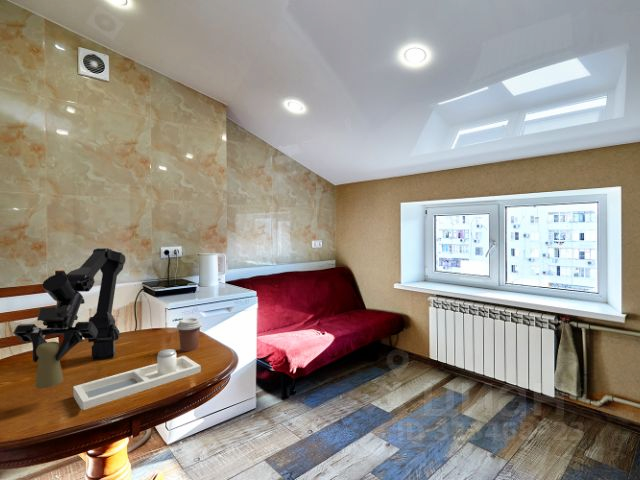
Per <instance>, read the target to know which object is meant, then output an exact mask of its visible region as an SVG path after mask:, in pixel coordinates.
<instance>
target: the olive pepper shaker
mask: <svg viewBox="0 0 640 480" xmlns="http://www.w3.org/2000/svg"><path fill="white" fill-rule="evenodd" d="M60 346H61V344H60V342H58V341H47V342H46V343H43V344H40V345H39V346H38V347H37V349H36V354H37V356H38V357H39V359H38V361H37V369H36V370H37V371H36V378H35V388H36V389H45V388H46V389H47V388H51V387H54V386H57V385H59V384H61V383H63V381H64V375H63V371H62V365H61V359H60V360H59V361H57V360H56V357H57V354H58V351H59V349H60Z"/></svg>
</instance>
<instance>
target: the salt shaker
mask: <svg viewBox="0 0 640 480" xmlns="http://www.w3.org/2000/svg"><path fill="white" fill-rule="evenodd" d="M176 358H177V352H176V349H172V348H168V349H167V348H166V349H163V350H160V351H158V353H157V356H156V359H157V376H158V377H159V376H163V375H166V374H169V373H172V372H176V371H177V359H176Z"/></svg>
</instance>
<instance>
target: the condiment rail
mask: <svg viewBox="0 0 640 480" xmlns="http://www.w3.org/2000/svg"><path fill="white" fill-rule="evenodd" d="M176 359H177V371H176V372H172V373H169V374H166V375H163V376H159V377H158V376H157V363H153V364H150V365H147V366H143V367H142V366H141V367H139V368H134V369H132V370H128V371H125V372H120V373H116V374H114V375H111V376H106V377H103V378H99V379H95V380H92V381H88V382H84V383H81V384H78V385H74V386H73V390H72V391H73V399H74V400H75V402H76V403H77V405H78V407H79V409H81V411H84V410H87V409H91V408H94V407H97V406H99V405H103V404H107V403H109V402H112V401H115V400H118V399H121V398H126V397H128V396H131V395H135V394H137V393H140V392H144V391H146V390H149V389H153V388H155V387H159V386H161V385H166V384H168V383H171V382H175V381H176V380H181V379H183V378H187V377H189V376H192V375H197V374H199V373H202V366H201V364H198V363H197V362H195V361H194V360H192V359H191V358H189V357H188V356H186V355H181V356H179V357H176Z"/></svg>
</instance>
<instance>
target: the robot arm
mask: <svg viewBox="0 0 640 480" xmlns="http://www.w3.org/2000/svg"><path fill="white" fill-rule="evenodd" d="M125 263H126V256H125V254H123V252H120V251H116V250H113V249H111V248H108V247H107V248H106V247H105V248H103V247H99V248H95V249H93V251H92V254H91V255H90V256H89V257H88V258H86V260H85V261H84V262H83V264H81V266H80V267H79V268H76V269H73V270H71V271H69V272H68V273H66V272H65V271H56V273H55V274H53V275H51V276H48V277H47V278H46V279H45V280H43V282H42V288H43V289H44V290H45V292H46V293H47V294H48V295H49V296H50V297H51V298H52V299H53V300H54V301H55V302H56V304H55V307H40V308H39V311H38V315H37V318H36V320H37V321H38V322H39V321H42V325H43V326H46V328H45V327H44V328H42V327H39V326H37V325H36V323H26V324H25V323H24V324H19V325H17V326H16V327H15V328H14V330H13V333H12V334H14V336H15V337H16V338H18V339H19V340H20V341H21V342H23V343H31V344H32V362H33V363H38V362H39V357H38V356H37V354H36V349H37V347H38V346H39V345H40V344H43V343H46V342H48V341H47V340H46V339H45V337H46V336H55V335H57V336H59V335H63V340H62V342H61V344H60V349H59V351H58V354H57V357H56V360H57V361H59V360H60V361H61V360H62V359H63V357H64V356H65V355H67V354H68V353H69V351H70V350H72V349H73V348H74V347H75V346H76V345H78V344H79V343H82V342H84V339H85V340H87V341H88V343H92V345H91V358H92V361H99V360H100V361H101V360H105V359H106V360H107V359H113V358H114V357H115V355H116V353H117V351H116V345H115V344H116V343H115V341H117V340H119V339H120V330H119V329H118V327H117V325H116V320H115V317H114V315H113V313H112V311H113V306H114V299H115V292H116V291H115V290H116V285H117V278H118V275H119V274H120V273H121V272H122V271H123V269H124V265H125ZM99 271H101V273H102V275H101V281H100V287H99V294H98V299H97V306H96V312H95V314H94V315H93V316H90V317H89V319H88V321H78V322H76V323H75V321H77V320H78V318H79V316H78V312H79V309H80V307H81V305H83V304H85V299H84V296H83V294H82V292H83V293H84V292H85V293H87V292H90V291H91V289H92V288H93V286H94V284H95V279H94V278H95V276H96V275H97V274H98V273H99ZM74 323H75V326H74Z"/></svg>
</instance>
